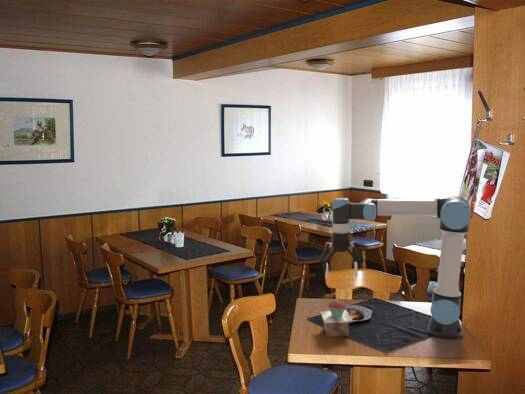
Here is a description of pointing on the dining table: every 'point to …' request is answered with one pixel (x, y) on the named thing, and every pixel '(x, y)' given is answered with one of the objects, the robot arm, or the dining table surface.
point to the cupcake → (337, 307)
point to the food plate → (355, 309)
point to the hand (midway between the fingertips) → (341, 276)
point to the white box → (336, 324)
